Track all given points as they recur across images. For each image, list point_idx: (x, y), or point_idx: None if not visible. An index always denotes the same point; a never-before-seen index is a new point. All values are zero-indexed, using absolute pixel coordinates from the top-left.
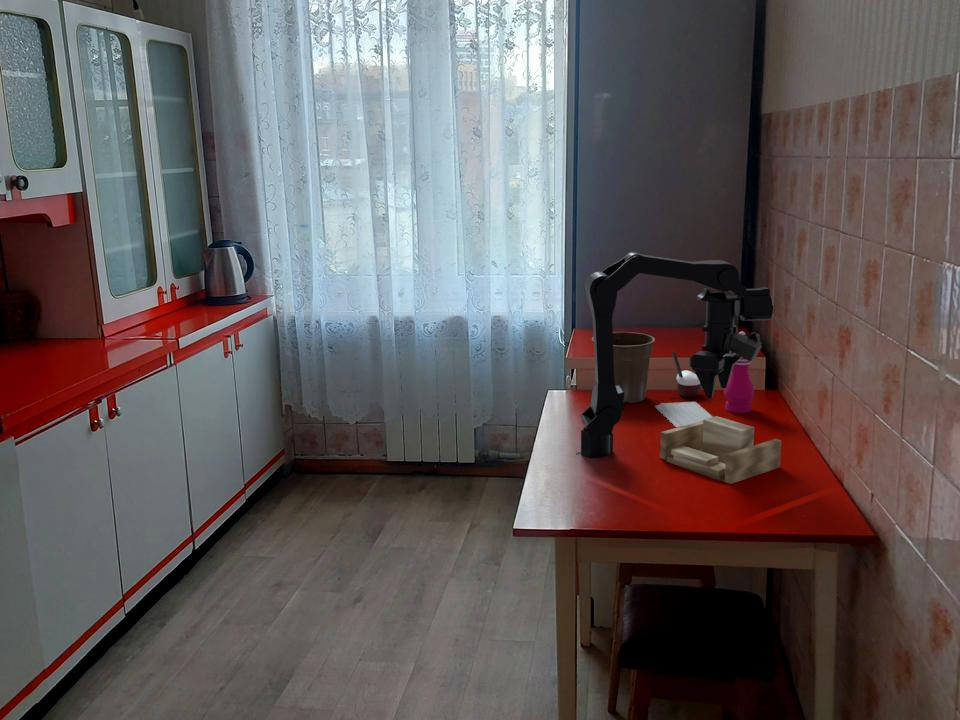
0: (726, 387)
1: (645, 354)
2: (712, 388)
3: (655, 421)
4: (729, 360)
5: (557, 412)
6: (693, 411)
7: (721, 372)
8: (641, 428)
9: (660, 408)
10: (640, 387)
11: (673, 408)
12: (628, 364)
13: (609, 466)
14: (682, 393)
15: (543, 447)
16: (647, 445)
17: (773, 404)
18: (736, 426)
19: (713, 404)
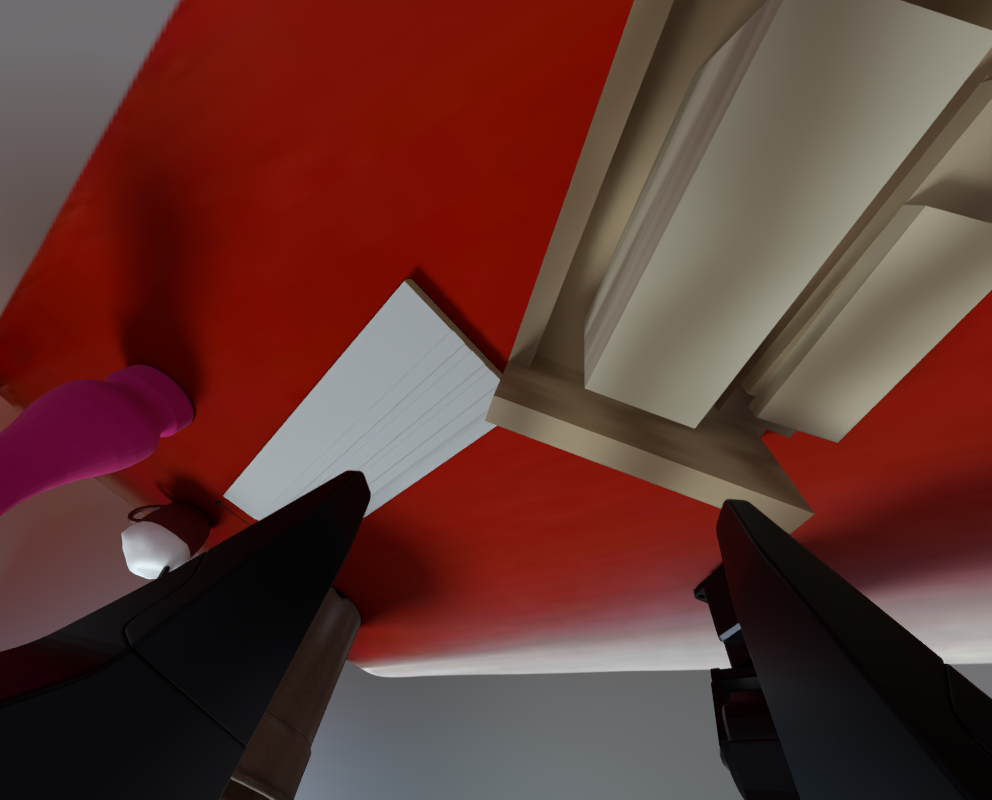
0: (353, 471)
1: None
2: (871, 605)
3: (398, 531)
4: (58, 770)
5: (479, 667)
6: (283, 482)
7: (284, 618)
8: (467, 544)
9: None
10: None
11: None
12: (281, 703)
13: (842, 547)
14: (207, 529)
15: (721, 667)
16: (592, 508)
17: (39, 329)
18: (814, 164)
19: (189, 458)
